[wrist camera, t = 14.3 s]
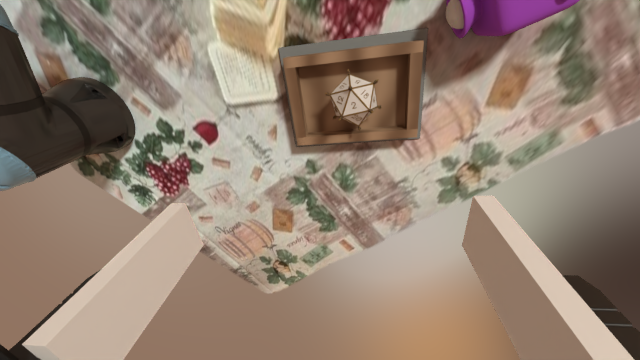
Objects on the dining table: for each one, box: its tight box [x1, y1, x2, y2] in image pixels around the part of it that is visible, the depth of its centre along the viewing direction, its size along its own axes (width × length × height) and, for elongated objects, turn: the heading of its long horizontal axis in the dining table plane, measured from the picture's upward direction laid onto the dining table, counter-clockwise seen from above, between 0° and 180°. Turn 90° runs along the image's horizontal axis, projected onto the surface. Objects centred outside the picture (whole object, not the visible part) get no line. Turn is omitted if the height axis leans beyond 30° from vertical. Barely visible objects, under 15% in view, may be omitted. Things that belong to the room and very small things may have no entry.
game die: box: [325, 69, 382, 131], centre depth 42 cm, size 9×8×10 cm
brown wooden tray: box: [283, 40, 424, 145], centre depth 44 cm, size 22×15×4 cm
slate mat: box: [279, 28, 428, 147], centre depth 46 cm, size 24×18×1 cm
